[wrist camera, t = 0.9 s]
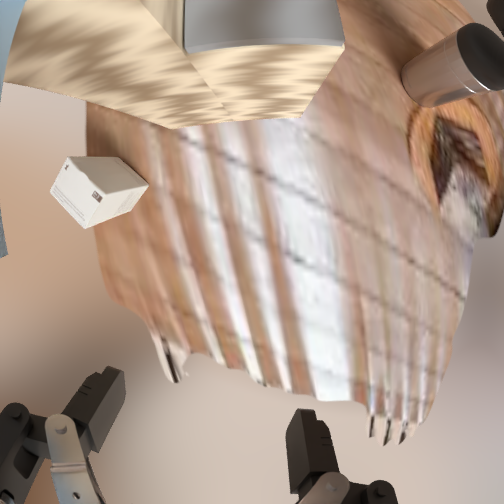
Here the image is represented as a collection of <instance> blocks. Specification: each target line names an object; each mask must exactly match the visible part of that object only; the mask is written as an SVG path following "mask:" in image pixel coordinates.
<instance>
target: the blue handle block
mask: <svg viewBox="0 0 504 504" xmlns="http://www.w3.org/2000/svg"><path fill="white" fill-rule="evenodd" d="M26 1H27V0H0V100H1V92H2V86H3V80H4V74H5V69H6V64H7V60H8V56H9V51H10V47H11V44H12V40H13V37H14V33H15V30H16V27H17V24H18V21H19V18H20V15H21V12H22V9H23V7H24V4H25V2H26ZM6 255H8V252H7V247H6V242H5V237H4V231H3V224H2V217H1V210H0V258H2V257H4V256H6Z"/></svg>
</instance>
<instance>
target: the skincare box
mask: <svg viewBox="0 0 504 504" xmlns="http://www.w3.org/2000/svg"><path fill="white" fill-rule="evenodd" d="M148 186H149V184H148V183H147V182H146V181H145V180H144V179H142V178H141V177H140V176H139V175H138V174H137V173H136V172H135V171H134V170H132V169H131V168H130V167H129V166H128V165H127V164H125V163H124V162H123V161H122V160H121V159H120V158H119V157H67V159H66V161H65V163H64V164H63V166H62V168H61V170H60V172H59V174H58V176H57V178H56V180H55V182H54V184H53V186H52V188H51V190H50V193H51V194H52V195H53V196H54V198H55V199H56V200H57V201H58V202H59V203H60V204H61V205H62V206H63V207H64V208H65V209H66V210H67V211H68V213H69V214H70V215H71V216H72V217H73V218H74V219H75V220H76V221H77V222H78V223H79V224H80V225H81V226H82V227H83V228H84V229H86V228H89V227H91V226H94V225H96V224H98V223H101V222H103V221H106V220H108V219H111V218H113V217H116V216H118V215H121V214H123V213H126V212H129V211H131V210H132V208H133V207H134V205H135V204H136V203H137V201H138V200H139V198H140V197H141V196H142V194H143V193H144V192H145V190H146V189H147V188H148Z"/></svg>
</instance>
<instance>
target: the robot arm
mask: <svg viewBox="0 0 504 504" xmlns="http://www.w3.org/2000/svg"><path fill="white" fill-rule="evenodd" d="M487 10H488V13H489V14H490V16H491V17H492V19H493V21H494V23H495V24H496V26H497V27H498V29H499V30H500V31H502V32H501V33H502V35H503V37H504V0H488V2H487ZM401 76H402V82H403V85H404V87H405V90H406V91H407V93H408V94H409V96H410V97H411V98H412V99H413V100H414V101H415V102H417V103H418V104H420V105H422V106H424V107H428V108H433V107H436V106H440V105H443V104H447V103H451V102H454V101H458V100H462V99H465V98H469V97H473V96H477V95H481V94H485V93H489V92H494V91H498V90H502V89H504V42H503V41H502V40H501V39H500V38H499V37H498V36H497V35H496V34H495V33H494V32H493V31H492V30H490V29H489V28H487V27H485V26H484V25H481V24H478V23H469V24H467V25H465V26H463V27H462V28H460V29H458V30H457V31H455V32H453V33H452V34H450V35H449V36H447V37H446V38H444V39H442V40H441V41H439V42H438V43H436V44H435V45H433V46H431V47H430V48H428V49H427V50H425V51H424V52H422V53H421V54H419V55H418V56H416V57H415V58H413V59H412V60H410V61H409V62H407V63H406V64H405V65H404V66H403V69H402V73H401ZM125 395H126V391H125V380H124V372H123V371H122V370H119V369H116V368H113V367H110V366H107V367H106V369H105V370H104V371H103V373H102V374H99V373H97V372H95V373H94V374H92V375H90V376H89V377H87V378H86V380H85V381H84V383H83V384H82V386H81V387H80V388H79V389H78V392H76V394H75V395H74V396H73V398H72V399H71V400H70V402H69V403H68V405H67V406H66V408H65V409H64V411H63V412H62V413H61V414H54V415H52V416H50V417H49V418H46V417H41V416H37V415H33V414H30V413H29V411H28V409H27V408H26V407H25V406H24V405H23V404H20V403H10V404H8V405H7V406H6V407H5V408H4V409H3V411H2V412H1V414H0V504H24V502H25V499H26V497H27V495H28V493H29V490H30V488H31V486H32V483H33V482H34V479H35V477H36V475H37V473H38V471H39V469H40V467H41V465H42V463H43V461H44V459H45V458H47V459H51V461H52V467H51V468H50V470H51V475H52V479H53V483H54V486H55V490H56V493H57V496H58V500H59V502H60V504H107V503H106V501H105V498H104V496H103V494H102V492H101V490H100V488H99V485H98V483H97V481H96V478H95V475H94V472H93V469H92V467H91V464H90V461H89V458H88V455H89V453H90V451H91V450H92V451H95V452H97V453H99V451H100V449H101V447H102V445H103V443H104V441H105V439H106V437H107V435H108V433H109V431H110V429H111V427H112V425H113V423H114V421H115V419H116V417H117V415H118V413H119V411H120V409H121V407H122V405H123V403H124V400H125ZM286 448H287V459H288V469H289V482H290V493H291V494H298V495H299V500H298V501H297V502H296V503H295V504H398V501H397V498H396V494H395V491H394V488H393V487H392V485H391V484H390V483H388V482H387V481H384V480H377V481H374V482H372V483H371V484H370V485H364V484H358V483H353V482H350V481H349V480H348V479H347V478H346V477H345V476H344V475H343V474H341V473H340V471H339V468H338V463H337V459H336V455H335V451H334V447H333V443H332V439H331V435H330V431H329V428H328V427H327V425H326V424H325V423H324V421H322V420H321V421H320V420H317V418H316V414H315V411H314V410H311V409H297V410H296V412H295V414H294V416H293V418H292V420H291V422H290V424H289V426H288V428H287V431H286Z"/></svg>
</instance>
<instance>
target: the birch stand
mask: <svg viewBox="0 0 504 504" xmlns="http://www.w3.org/2000/svg"><path fill="white" fill-rule="evenodd" d="M344 42H345V36H344V31H343V27H342V22H341V18H340V13H339V9H338V5H337V1H336V0H27V1H26V2H25V4H24V7H23V9H22V12H21V15H20V18H19V21H18V24H17V27H16V30H15V33H14V37H13V40H12V44H11V47H10V51H9V56H8V60H7V64H6V69H5V74H4V80H3V82H7V83H13V84H18V85H23V86H28V87H33V88H37V89H42V90H46V91H51V92H55V93H58V94H62V95H66V96H70V97H74V98H78V99H81V100H85V101H88V102H92V103H95V104H99V105H102V106H105V107H108V108H112V109H115V110H118V111H121V112H124V113H127V114H130V115H133V116H136V117H139V118H142V119H145V120H147V121H150V122H153V123H156V124H159V125H161V126H164V127H167V128H169V129H176V128H183V127H189V126H196V125H204V124H212V123H220V122H230V121H241V120H254V119H272V118H300V117H301V115H302V114H303V112H304V111H305V109H306V108H307V106H308V104H309V103H310V101H311V100H312V98H313V97H314V95H315V93H316V92H317V90H318V89H319V87H320V86H321V84H322V83H323V81H324V80H325V78H326V76H327V75H328V73H329V72H330V70H331V69H332V67H333V66H334V64H335V63H336V61H337V60H338V58H339V57H340V55H341V54H342V52H343V51H344V49H345V47H344Z"/></svg>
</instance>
